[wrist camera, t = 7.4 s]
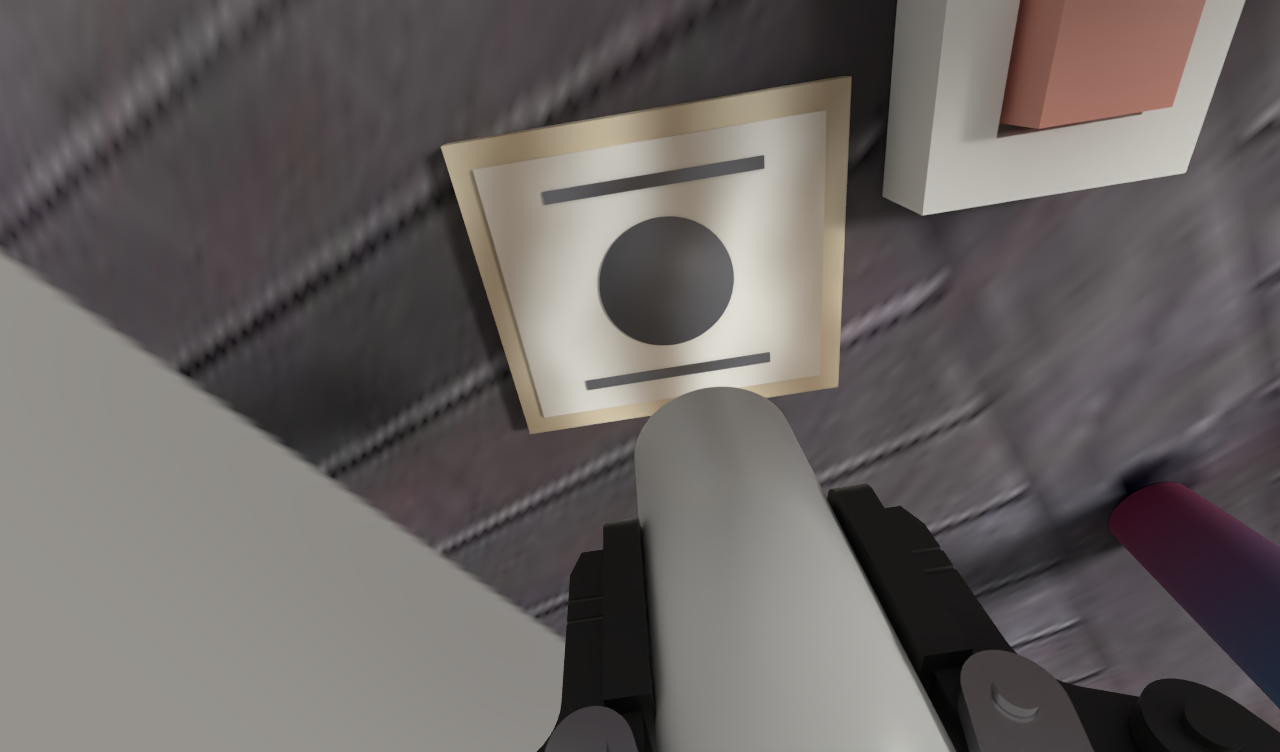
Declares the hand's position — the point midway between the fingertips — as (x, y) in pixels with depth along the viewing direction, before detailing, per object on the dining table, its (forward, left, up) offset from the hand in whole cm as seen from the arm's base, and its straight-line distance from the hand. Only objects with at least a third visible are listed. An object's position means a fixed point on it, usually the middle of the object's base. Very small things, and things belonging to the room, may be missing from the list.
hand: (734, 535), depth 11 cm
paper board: (0, 0, -16) cm, 16 cm away
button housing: (-15, -7, -16) cm, 23 cm away
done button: (-15, -7, -14) cm, 22 cm away
